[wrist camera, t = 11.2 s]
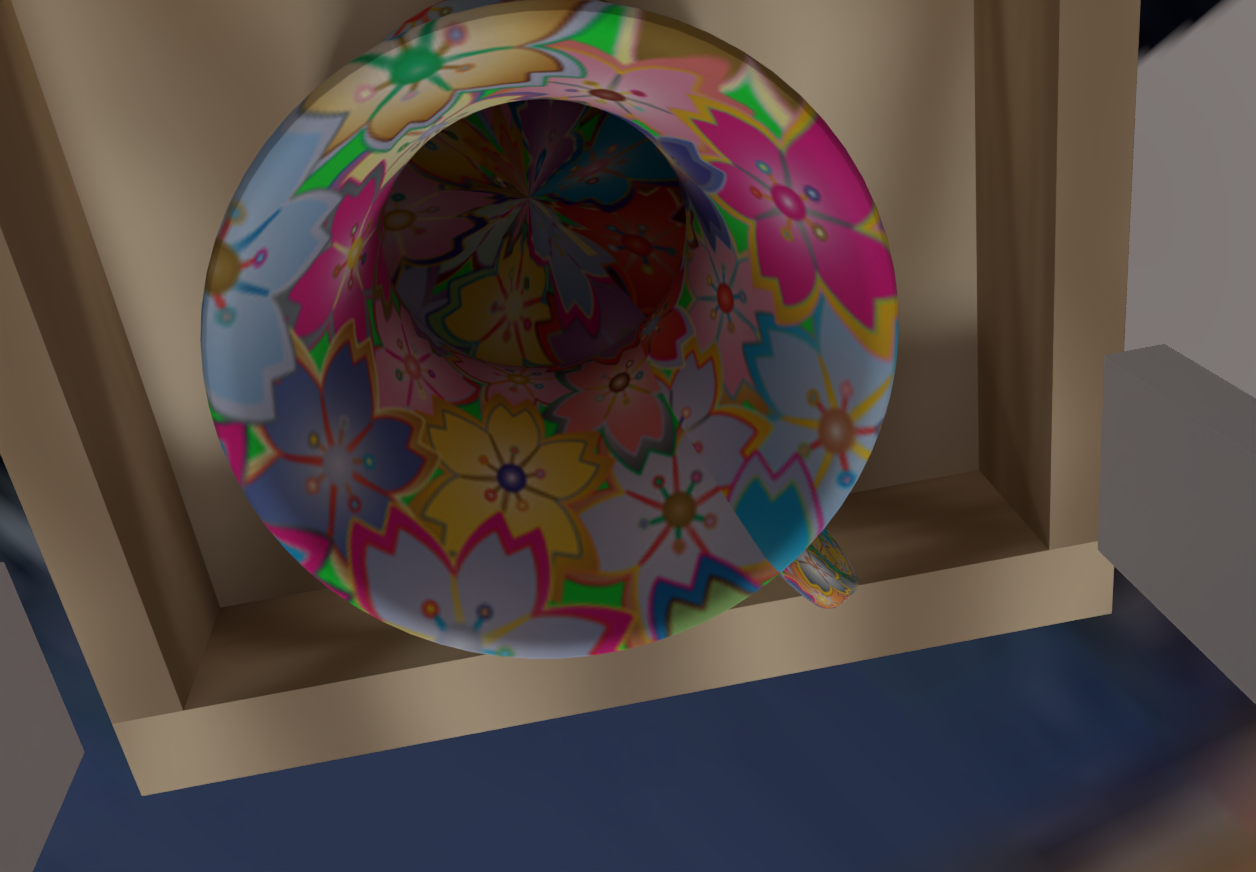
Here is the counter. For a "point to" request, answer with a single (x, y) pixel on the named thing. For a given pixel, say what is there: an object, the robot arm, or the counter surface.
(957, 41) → the wooden tray
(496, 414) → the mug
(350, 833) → the counter surface
